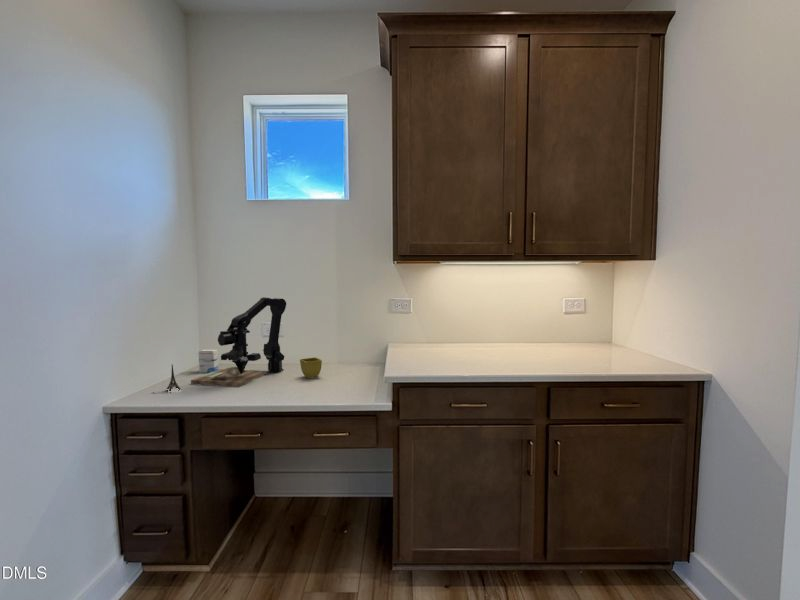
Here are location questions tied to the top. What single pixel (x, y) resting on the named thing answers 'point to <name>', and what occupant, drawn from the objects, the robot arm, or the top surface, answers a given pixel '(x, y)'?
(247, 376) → the board
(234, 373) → the maple block
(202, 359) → the ink box
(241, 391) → the top surface
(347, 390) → the top surface
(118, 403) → the top surface
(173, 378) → the eiffel tower figurine
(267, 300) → the robot arm
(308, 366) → the flower pot
